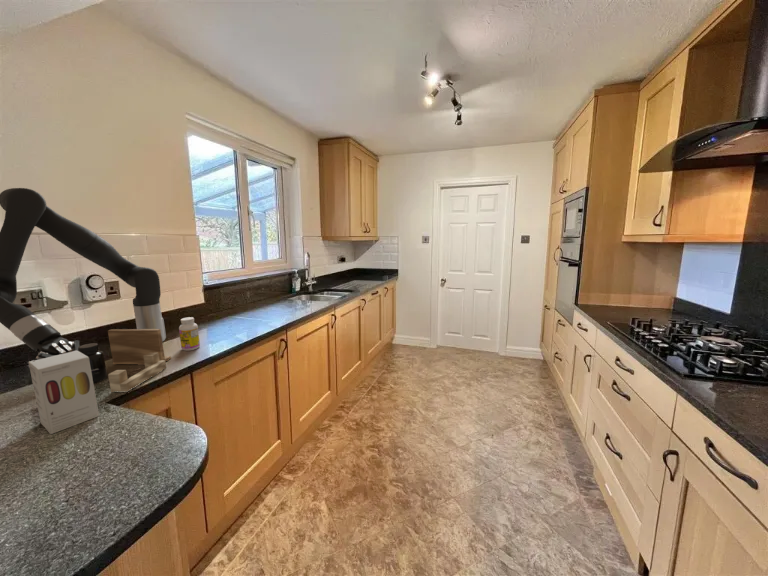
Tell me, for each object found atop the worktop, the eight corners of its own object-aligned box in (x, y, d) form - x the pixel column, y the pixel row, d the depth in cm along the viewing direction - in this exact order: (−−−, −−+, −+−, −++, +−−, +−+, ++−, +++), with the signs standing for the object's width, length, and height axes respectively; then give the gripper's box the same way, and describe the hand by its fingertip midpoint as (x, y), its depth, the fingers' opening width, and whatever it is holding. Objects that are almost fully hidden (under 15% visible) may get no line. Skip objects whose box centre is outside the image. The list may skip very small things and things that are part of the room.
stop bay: (152, 368, 111) (149, 352, 110) (166, 368, 111) (163, 352, 110) (111, 392, 95) (108, 374, 94) (127, 392, 95) (124, 374, 94)
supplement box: (49, 435, 75) (35, 370, 72) (39, 423, 80) (25, 361, 77) (101, 415, 83) (89, 355, 80) (88, 405, 88) (77, 349, 85)
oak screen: (124, 359, 120) (118, 326, 117) (171, 358, 120) (166, 326, 117) (113, 364, 115) (107, 330, 112) (161, 364, 115) (156, 330, 112)
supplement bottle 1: (90, 386, 99) (84, 350, 97) (74, 384, 100) (66, 348, 98) (113, 376, 106) (107, 342, 103) (97, 374, 107) (91, 341, 105)
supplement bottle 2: (177, 349, 129) (173, 319, 126) (192, 344, 135) (189, 315, 132) (189, 352, 126) (185, 321, 124) (203, 346, 132) (200, 317, 130)
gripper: (18, 331, 93) (67, 369, 95) (63, 318, 106) (105, 352, 108) (4, 347, 94) (53, 385, 96) (50, 333, 107) (92, 366, 109)
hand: (80, 367), depth 102 cm, fingers closed
